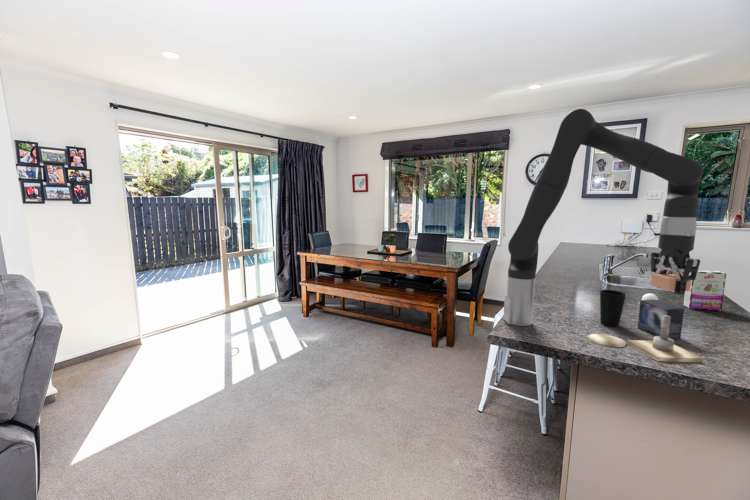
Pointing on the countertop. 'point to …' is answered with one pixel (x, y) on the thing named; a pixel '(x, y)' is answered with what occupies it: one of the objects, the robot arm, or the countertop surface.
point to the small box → (660, 317)
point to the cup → (611, 307)
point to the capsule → (649, 297)
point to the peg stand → (664, 347)
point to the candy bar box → (706, 290)
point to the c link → (667, 282)
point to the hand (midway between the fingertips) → (669, 290)
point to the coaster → (607, 340)
